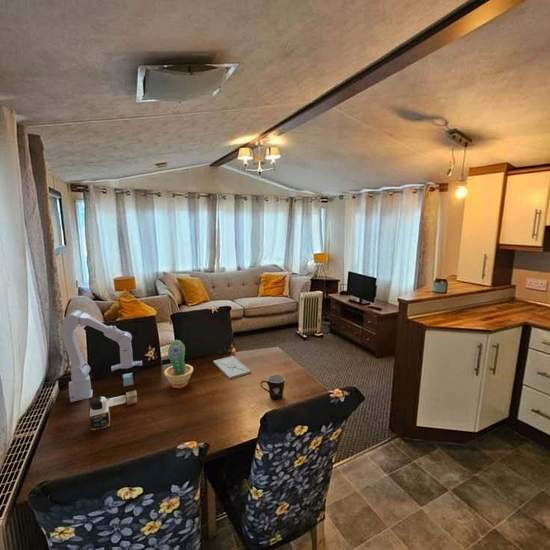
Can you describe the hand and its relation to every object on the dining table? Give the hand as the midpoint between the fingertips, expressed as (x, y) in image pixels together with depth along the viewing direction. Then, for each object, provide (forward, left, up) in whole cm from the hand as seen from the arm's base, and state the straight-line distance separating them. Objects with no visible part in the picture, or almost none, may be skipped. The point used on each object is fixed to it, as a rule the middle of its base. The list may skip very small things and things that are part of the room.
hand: (128, 380), depth 168 cm
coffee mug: (+65, -40, -6) cm, 77 cm away
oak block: (+1, -12, -6) cm, 13 cm away
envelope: (+57, 0, -6) cm, 57 cm away
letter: (-7, -8, -6) cm, 12 cm away
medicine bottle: (-13, -25, -6) cm, 29 cm away
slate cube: (0, 0, -2) cm, 2 cm away
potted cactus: (+25, -5, -6) cm, 26 cm away
